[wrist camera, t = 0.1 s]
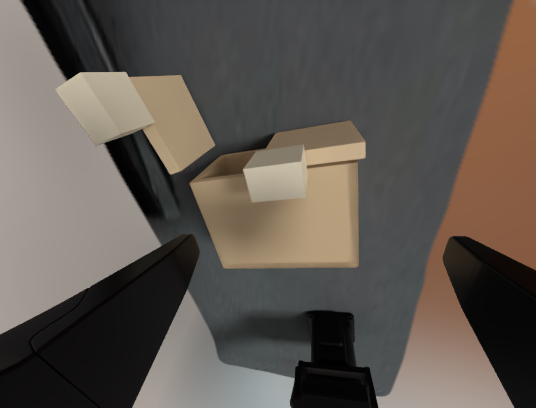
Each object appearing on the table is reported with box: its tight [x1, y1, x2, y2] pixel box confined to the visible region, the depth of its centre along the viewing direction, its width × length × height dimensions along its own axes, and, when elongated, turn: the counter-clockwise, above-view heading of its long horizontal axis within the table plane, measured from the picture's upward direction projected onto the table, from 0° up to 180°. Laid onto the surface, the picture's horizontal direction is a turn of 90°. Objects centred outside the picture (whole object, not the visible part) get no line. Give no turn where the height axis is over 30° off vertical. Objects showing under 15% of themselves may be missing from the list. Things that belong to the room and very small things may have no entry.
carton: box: [190, 148, 359, 269], centre depth 20 cm, size 9×12×7 cm
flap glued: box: [243, 120, 365, 202], centre depth 15 cm, size 2×6×10 cm, turn 103°
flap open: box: [55, 72, 215, 175], centre depth 16 cm, size 2×6×10 cm, turn 23°
